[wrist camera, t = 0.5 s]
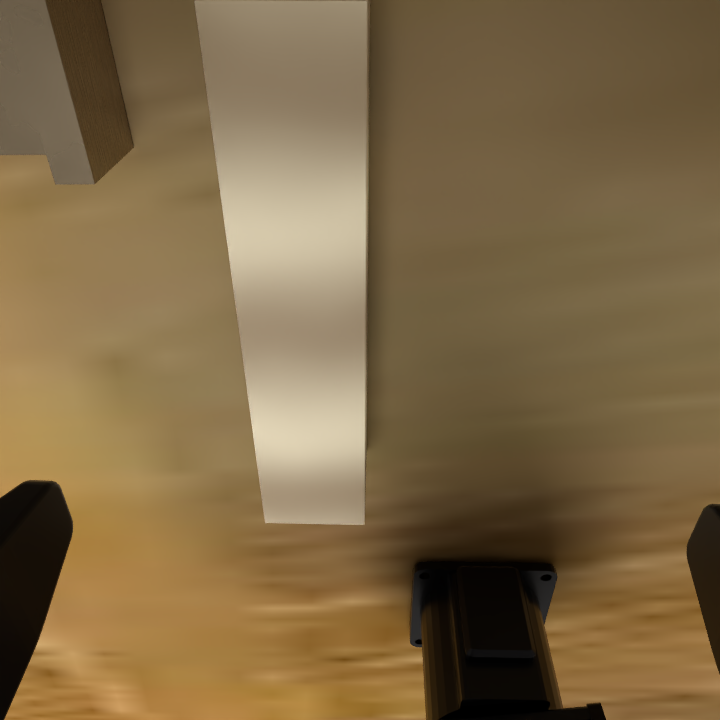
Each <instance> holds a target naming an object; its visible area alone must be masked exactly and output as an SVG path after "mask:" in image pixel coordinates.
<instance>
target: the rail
mask: <svg viewBox="0 0 720 720" xmlns="http://www.w3.org/2000/svg"><path fill="white" fill-rule="evenodd" d="M194 2H195V9H196V17H197V24H198V31H199V39H200V46H201V54H202V61H203V68H204V76H205V83H206V90H207V98H208V105H209V113H210V120H211V127H212V135H213V142H214V149H215V157H216V164H217V172H218V179H219V186H220V194H221V201H222V208H223V216H224V223H225V230H226V238H227V245H228V253H229V260H230V267H231V275H232V282H233V289H234V297H235V304H236V312H237V319H238V326H239V334H240V341H241V348H242V356H243V363H244V371H245V378H246V385H247V393H248V400H249V407H250V415H251V422H252V430H253V437H254V444H255V452H256V459H257V466H258V474H259V481H260V489H261V496H262V503H263V511H264V518H265V523H299V524H344V525H364V524H365V488H366V453H367V328H368V197H369V66H370V0H194Z"/></svg>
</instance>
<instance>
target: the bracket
mask: <svg viewBox="0 0 720 720" xmlns="http://www.w3.org/2000/svg"><path fill="white" fill-rule="evenodd" d="M133 148H134V147H133V143H132V138H131V134H130V129H129V125H128V121H127V116H126V112H125V107H124V103H123V98H122V94H121V89H120V85H119V81H118V76H117V72H116V67H115V63H114V58H113V54H112V49H111V45H110V41H109V36H108V32H107V27H106V23H105V18H104V14H103V9H102V5H101V1H100V0H0V155H47V158H48V162H49V165H50V168H51V171H52V175H53V178H54V181H55V184H95V183H97V182H98V181H99V180H100V179H101V178H102V177H103V176H104V175H105V174H106V173H107V172H108V171H109V170H110V169H111V168H112V167H114V166H115V165H116V164H117V163H118V162H119V161H120V160H121V159H122V158H123V157H124V156H125V155H126V154H127V153H128V152H130V151H131V150H132V149H133Z"/></svg>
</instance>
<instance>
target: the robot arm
mask: <svg viewBox="0 0 720 720" xmlns="http://www.w3.org/2000/svg"><path fill="white" fill-rule="evenodd" d="M72 532H73V521H72V517H71V515H70V512H69V509H68V506H67V504H66V501H65V498H64V495H63V493H62V490H61V488H60V486H59V485H58V484H57V483H56V482H54V481H41V480H29V481H25V482H23V483H21V484H20V485H18V486H17V487H15V488H14V489H12V490H11V491H9V492H8V493H7V494H5V495H4V496H2V497H1V498H0V720H4V719H5V716H6V714H7V712H8V710H9V707H10V705H11V703H12V701H13V698H14V696H15V694H16V691H17V689H18V687H19V685H20V682H21V680H22V678H23V675H24V673H25V671H26V669H27V666H28V664H29V662H30V659H31V657H32V655H33V652H34V650H35V647H36V645H37V642H38V640H39V637H40V634H41V631H42V629H43V626H44V623H45V620H46V616H47V613H48V610H49V607H50V604H51V601H52V598H53V594H54V591H55V588H56V585H57V582H58V579H59V575H60V572H61V569H62V566H63V563H64V560H65V557H66V553H67V550H68V547H69V544H70V541H71V537H72ZM687 560H688V564H689V567H690V571H691V575H692V578H693V582H694V586H695V589H696V593H697V597H698V600H699V604H700V608H701V611H702V615H703V619H704V622H705V626H706V630H707V634H708V637H709V641H710V645H711V648H712V652H713V655H714V658H715V661H716V665H717V668H718V671H719V673H720V504H710V505H708V506H706V507H705V508H704V509H703V511H702V513H701V515H700V517H699V519H698V521H697V524H696V526H695V528H694V530H693V532H692V534H691V536H690V539H689V541H688V544H687ZM556 580H557V573H556V569H555V567H554V566H553V565H551V564H546V563H477V562H420V563H417V564H416V565H415V566H414V568H413V586H412V604H411V622H410V643H411V644H412V645H413V646H415V647H422V653H423V671H424V689H425V707H426V720H606V718H605V715H604V712H603V709H602V706H601V703H590V704H587V706H585V707H574V708H563V705H562V701H561V697H560V692H559V688H558V684H557V679H556V675H555V670H554V666H553V662H552V657H551V653H550V649H549V644H548V640H547V635H546V631H545V627H544V624H545V620H546V616H547V613H548V609H549V606H550V602H551V598H552V595H553V591H554V588H555V584H556Z"/></svg>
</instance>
